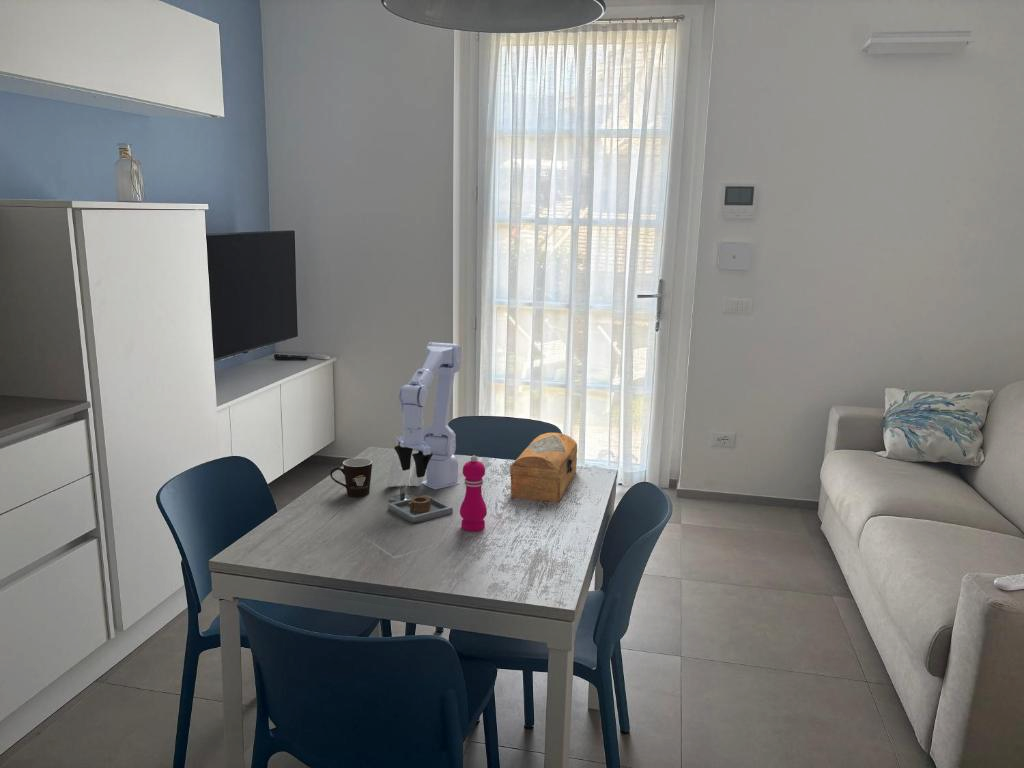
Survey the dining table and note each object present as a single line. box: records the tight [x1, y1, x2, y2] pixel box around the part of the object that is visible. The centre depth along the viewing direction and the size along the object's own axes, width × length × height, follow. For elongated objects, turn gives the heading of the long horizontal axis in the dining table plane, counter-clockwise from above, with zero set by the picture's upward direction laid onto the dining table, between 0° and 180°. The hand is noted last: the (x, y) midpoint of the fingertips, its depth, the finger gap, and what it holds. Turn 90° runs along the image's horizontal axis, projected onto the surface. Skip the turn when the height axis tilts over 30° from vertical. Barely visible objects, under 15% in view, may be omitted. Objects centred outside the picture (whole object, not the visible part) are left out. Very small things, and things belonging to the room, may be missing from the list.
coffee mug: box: [329, 457, 373, 498], centre depth 234 cm, size 12×9×10 cm
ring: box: [408, 495, 433, 513], centre depth 222 cm, size 5×8×3 cm
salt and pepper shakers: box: [386, 452, 424, 488], centre depth 241 cm, size 12×4×11 cm, turn 115°
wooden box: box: [509, 432, 578, 503], centre depth 246 cm, size 30×16×14 cm, turn 164°
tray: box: [387, 494, 454, 525], centre depth 222 cm, size 13×13×2 cm
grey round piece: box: [388, 483, 416, 503], centre depth 230 cm, size 8×8×5 cm
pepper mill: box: [459, 455, 488, 532], centre depth 210 cm, size 7×7×20 cm
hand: (413, 473), depth 225 cm, fingers open, 7 cm apart
